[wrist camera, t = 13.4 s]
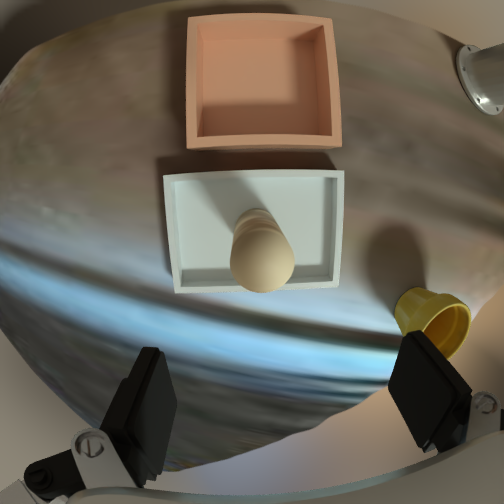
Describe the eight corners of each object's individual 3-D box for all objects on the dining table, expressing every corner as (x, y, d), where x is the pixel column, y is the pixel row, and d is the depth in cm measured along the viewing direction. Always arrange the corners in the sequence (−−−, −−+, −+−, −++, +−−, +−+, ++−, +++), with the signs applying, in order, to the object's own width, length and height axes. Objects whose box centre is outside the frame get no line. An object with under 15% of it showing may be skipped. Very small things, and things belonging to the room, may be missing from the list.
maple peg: (277, 207, 32) (295, 230, 21) (277, 249, 34) (294, 291, 22) (233, 208, 32) (228, 232, 21) (235, 250, 34) (231, 293, 22)
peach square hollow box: (318, 39, 27) (331, 18, 21) (325, 149, 31) (341, 146, 25) (196, 38, 26) (188, 17, 21) (196, 151, 31) (186, 148, 25)
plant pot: (424, 261, 36) (464, 287, 27) (443, 304, 38) (476, 333, 29) (372, 305, 38) (403, 343, 28) (397, 344, 40) (424, 381, 31)
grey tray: (337, 170, 32) (344, 170, 30) (332, 279, 36) (338, 286, 34) (168, 174, 31) (163, 175, 29) (179, 284, 36) (175, 293, 33)
